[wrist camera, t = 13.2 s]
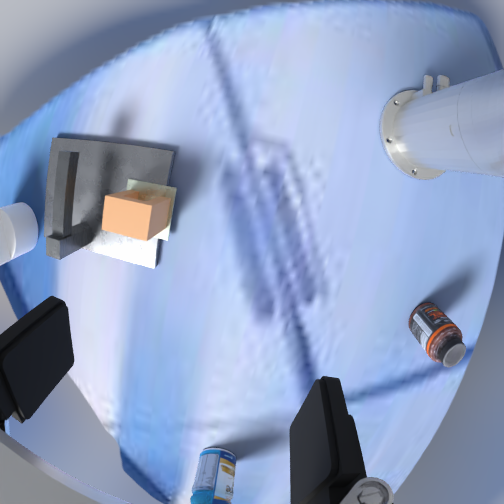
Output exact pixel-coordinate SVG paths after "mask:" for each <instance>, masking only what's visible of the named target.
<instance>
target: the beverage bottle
mask: <svg viewBox="0 0 504 504" xmlns="http://www.w3.org/2000/svg"><path fill="white" fill-rule="evenodd" d="M235 466H236V457H235V455H234V454H233V453H231V452H230V451H227V450H225V449H220V448H208V449H205V450H203V451H202V452H201V453H200V458H199V464H198V468H197V473H196V477H195V482H194V485H193V487H192V493H193V496H191V499H190V500H191V504H231V502H230V500H231V499H232V498H233V486H234V476H235Z"/></svg>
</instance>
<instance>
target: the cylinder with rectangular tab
mask: <svg viewBox="0 0 504 504" xmlns="http://www.w3.org/2000/svg"><path fill="white" fill-rule="evenodd" d="M37 239H38V223H37V220H36V216H35V214H34V212H33V210H32V209H31V208H30V206H28V205H27V204H26V203H23V202H20V203H15V204H12V205H8V206H4V207H1V208H0V265H2V264H4V263H6V262H8V261H10V260H12V259H14V258H16V257H18V256H20V255H22V254H24V253H26V252H28V251H30V250H32V249H33V248H34V247H35V245H36V243H37Z"/></svg>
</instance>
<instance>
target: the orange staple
mask: <svg viewBox="0 0 504 504" xmlns="http://www.w3.org/2000/svg"><path fill="white" fill-rule="evenodd" d="M138 196H139V191H134V190H126V191H122V192H118V193H114V194H109V195H105V201H104V210H103V219H102V230H105V231H109V232H113V233H116V234H120V235H124V236H128V237H132V238H136V239H139V240H143V241H148V240H150V239H151V238H152V237H154V236H155V235H157V234H158V233H160V232H161V231H163V230H164V229H166V225H167V219H168V213H169V207H170V202H171V198H167V197H162V196H160V197H157V198H154V199H151V200H148V201H143V200H138Z"/></svg>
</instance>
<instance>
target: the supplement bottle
mask: <svg viewBox="0 0 504 504" xmlns="http://www.w3.org/2000/svg"><path fill="white" fill-rule="evenodd" d="M409 328H410V330H411V332H412V333H413V335H414V336H415V337H416V339H417V340H418V342H419V343H420V344H421V346H422V347H423V348H424V350H425V351H426V353H427V354H428V355H429V357H430V358H431V359H432V360H433V361H435V362H442V363H443V365H444V366H445V367H452V366H454V365H456V364H457V363H458V362H459V361H461V359H462V358H463V356H464V354H465V351H466V346H465V345H464V343H463V342H462V333H461V331H460V329H459V328H458V327H457V326H456V325H455V324H454V323H453V322H452V321H451V320H450V319H449V318H448V317H447V316H446V315H445V314H444V313H443V312H442V311H441V310H440V309H439V308H438V307H437V306H436V305H435V304H433V303H424V304H421V305H420V306H418V307H417V308H416V309H415V310H414V311H413V313H412V314H411V316H410V318H409Z"/></svg>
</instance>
